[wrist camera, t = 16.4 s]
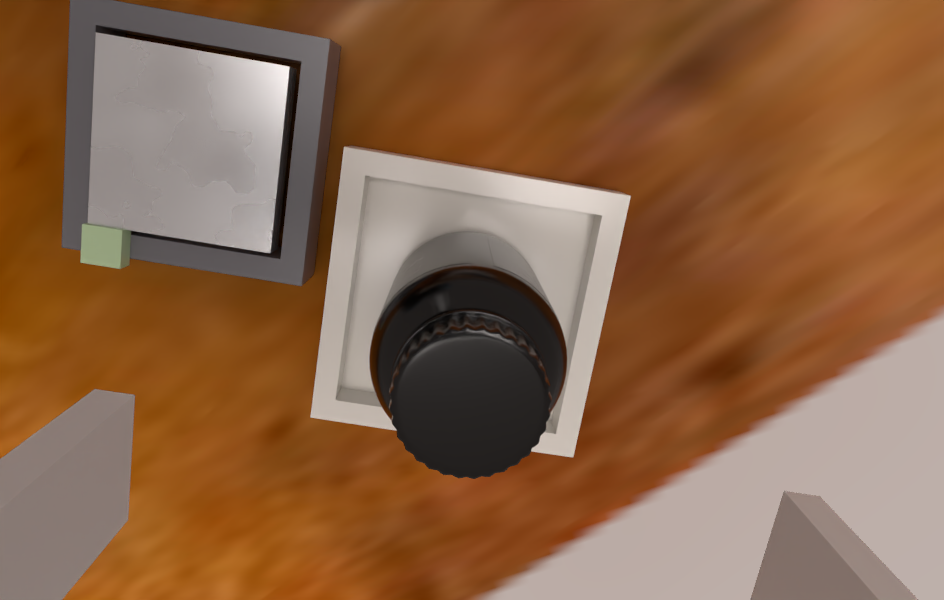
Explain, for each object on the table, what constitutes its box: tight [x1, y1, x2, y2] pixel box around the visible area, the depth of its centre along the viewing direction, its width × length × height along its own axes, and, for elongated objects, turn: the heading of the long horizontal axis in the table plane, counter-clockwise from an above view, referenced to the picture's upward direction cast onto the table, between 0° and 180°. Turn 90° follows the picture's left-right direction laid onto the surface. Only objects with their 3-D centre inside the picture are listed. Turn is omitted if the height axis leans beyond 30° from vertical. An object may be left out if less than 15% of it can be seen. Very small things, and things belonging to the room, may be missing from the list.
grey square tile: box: [88, 32, 297, 253], centre depth 28 cm, size 7×7×1 cm
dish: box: [311, 146, 631, 457], centre depth 32 cm, size 12×12×2 cm
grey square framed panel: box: [62, 0, 341, 286], centre depth 29 cm, size 10×10×3 cm
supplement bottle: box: [369, 232, 567, 479], centre depth 26 cm, size 7×7×12 cm
